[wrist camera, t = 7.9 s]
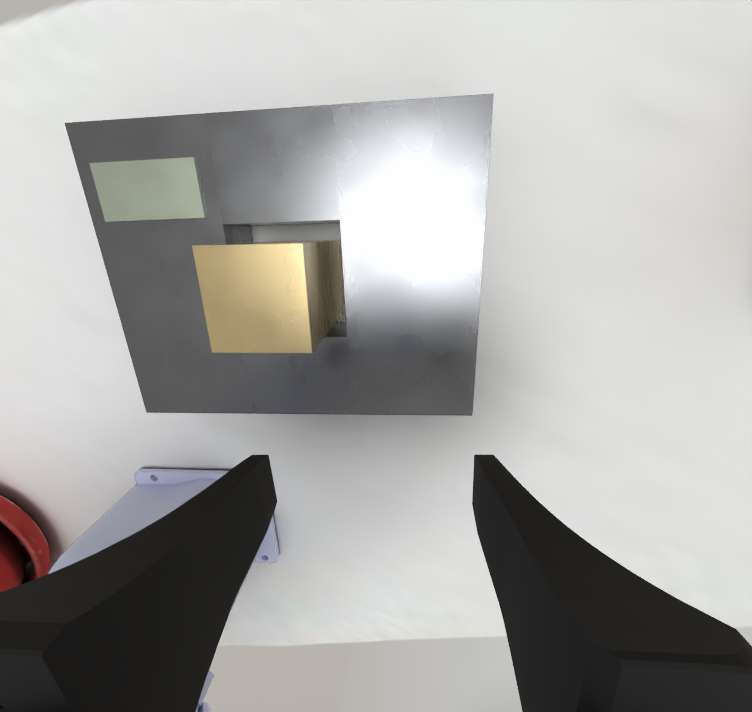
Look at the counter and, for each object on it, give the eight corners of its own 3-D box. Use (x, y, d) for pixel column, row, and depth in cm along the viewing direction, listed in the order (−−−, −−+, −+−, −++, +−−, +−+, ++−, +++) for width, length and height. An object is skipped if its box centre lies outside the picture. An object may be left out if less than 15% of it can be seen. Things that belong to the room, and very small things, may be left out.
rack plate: (179, 389, 22) (144, 413, 19) (119, 140, 18) (60, 121, 15) (462, 390, 21) (472, 417, 18) (478, 118, 16) (494, 91, 13)
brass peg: (275, 314, 20) (212, 352, 14) (266, 241, 19) (192, 245, 12) (342, 313, 20) (312, 353, 13) (339, 240, 18) (302, 243, 12)
